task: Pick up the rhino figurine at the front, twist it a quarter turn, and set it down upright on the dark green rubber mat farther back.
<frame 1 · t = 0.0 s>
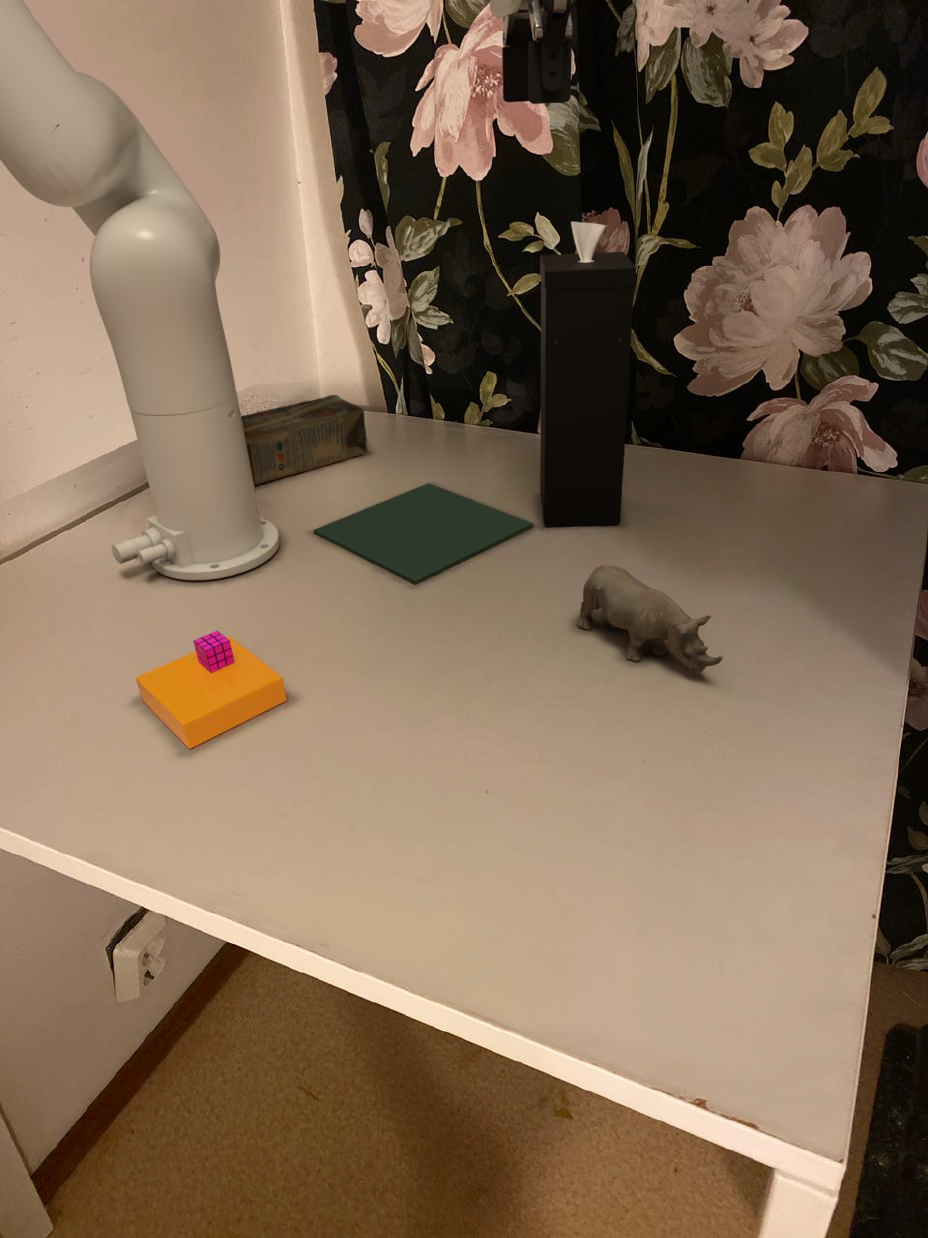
hand: (534, 101, 71), 37 cm above the table, tool pointing down, fingers open, 9 cm apart
mat: (422, 530, 89), on the table
rhino figurine: (645, 655, 68), on the table
orange block: (214, 703, 66), on the table
tissue box: (578, 512, 91), on the table
beverage carton: (288, 466, 106), on the table
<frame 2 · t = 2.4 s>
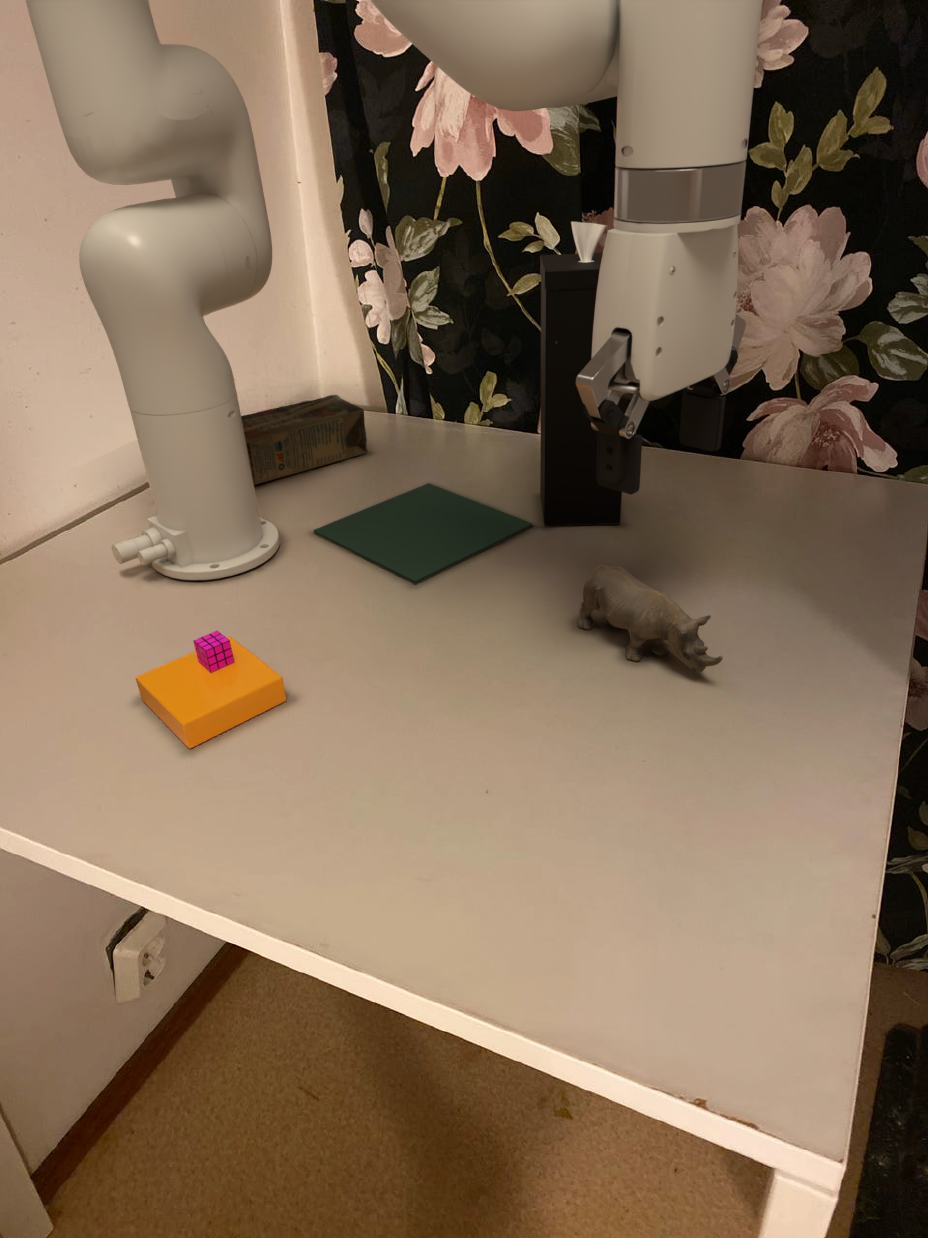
hand: (660, 466, 61), 15 cm above the table, tool pointing down, fingers open, 9 cm apart
nothing on the table moved.
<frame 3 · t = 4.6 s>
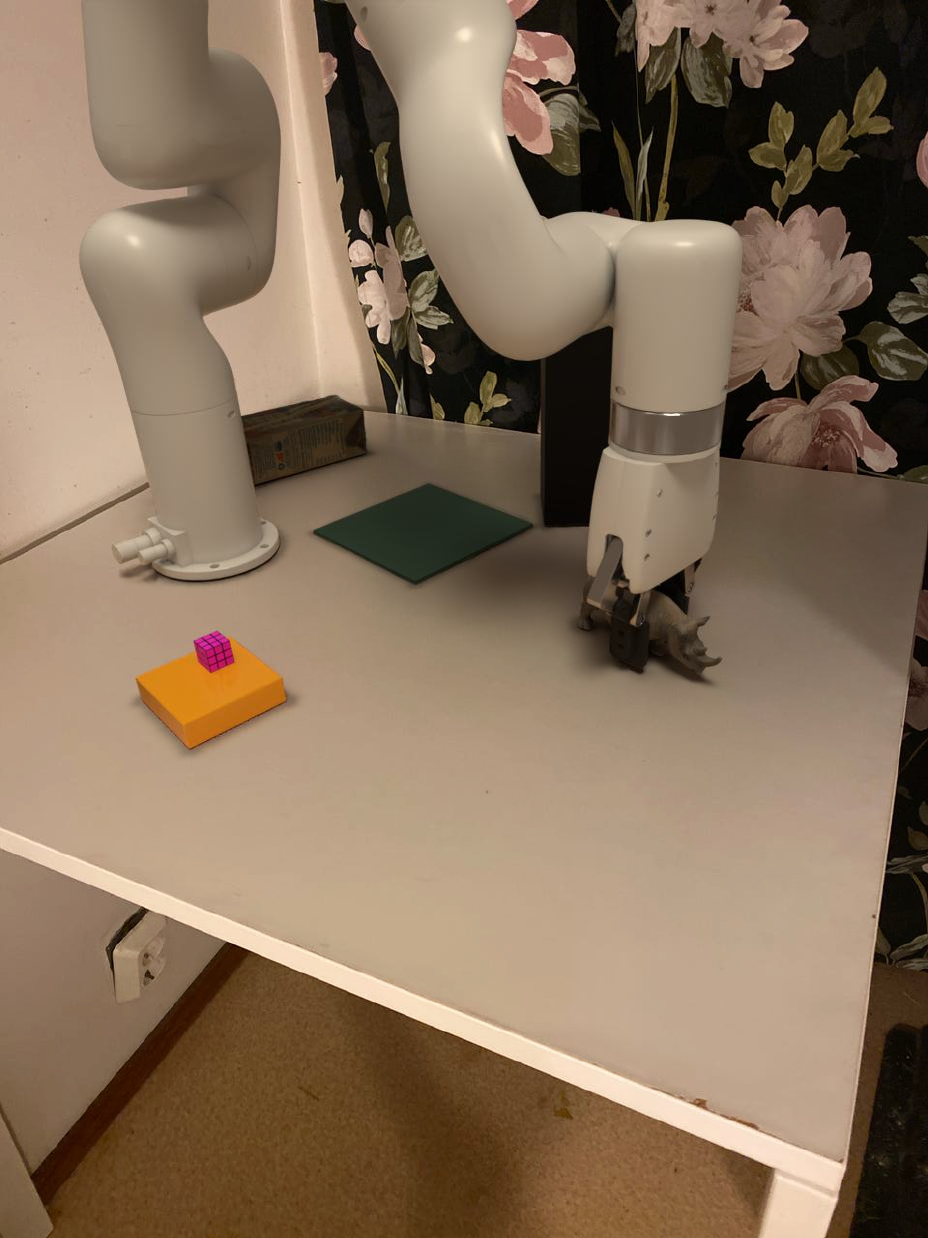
hand: (647, 645, 68), 1 cm above the table, tool pointing down, fingers closed on rhino figurine, 4 cm apart
rhino figurine: (645, 656, 68), on the table, touching gripper
everything else where it was.
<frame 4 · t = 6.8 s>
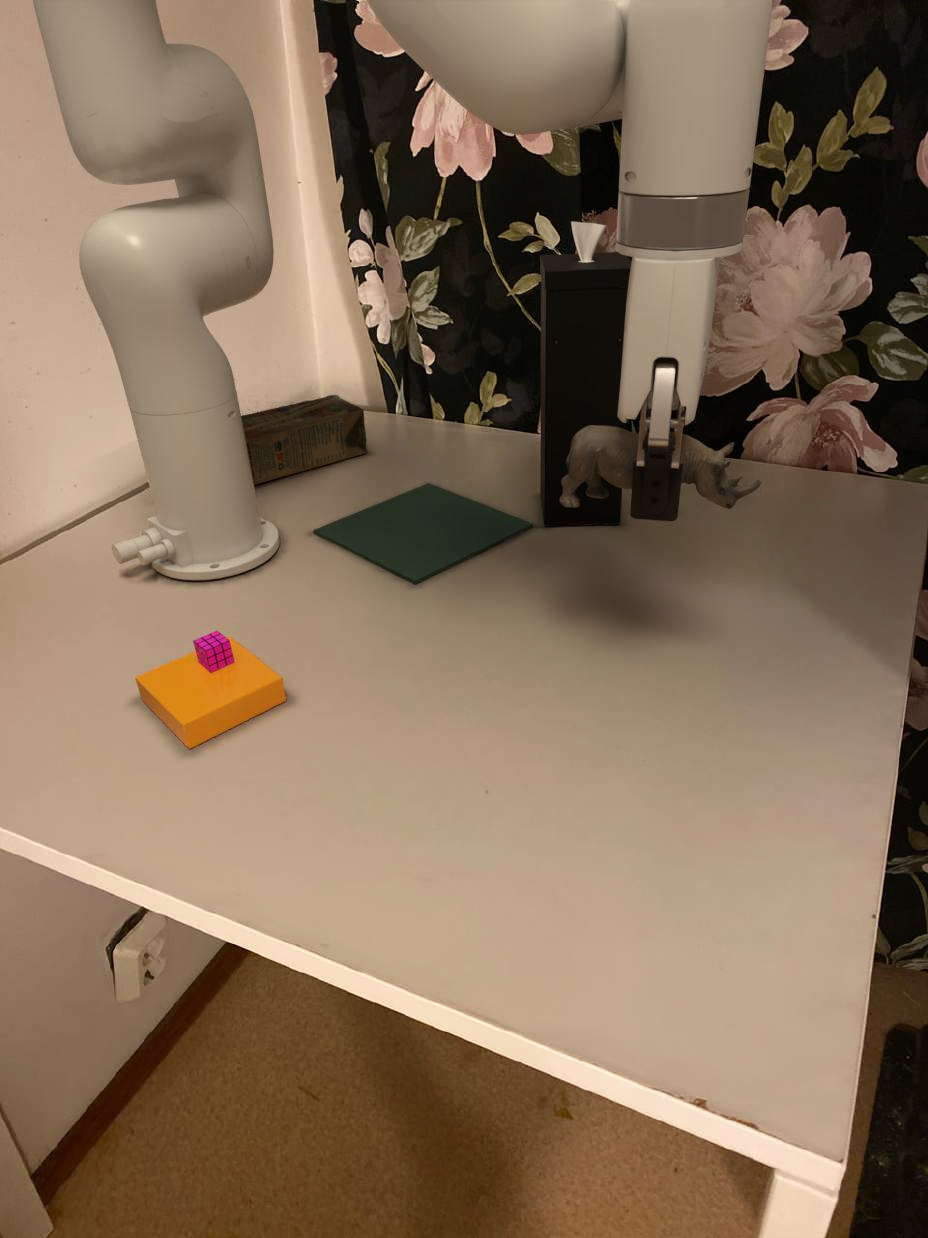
hand: (655, 500, 61), 13 cm above the table, tool pointing down, fingers closed on rhino figurine, 4 cm apart
rhino figurine: (654, 513, 62), point 12 cm above the table, touching gripper
everything else where it was.
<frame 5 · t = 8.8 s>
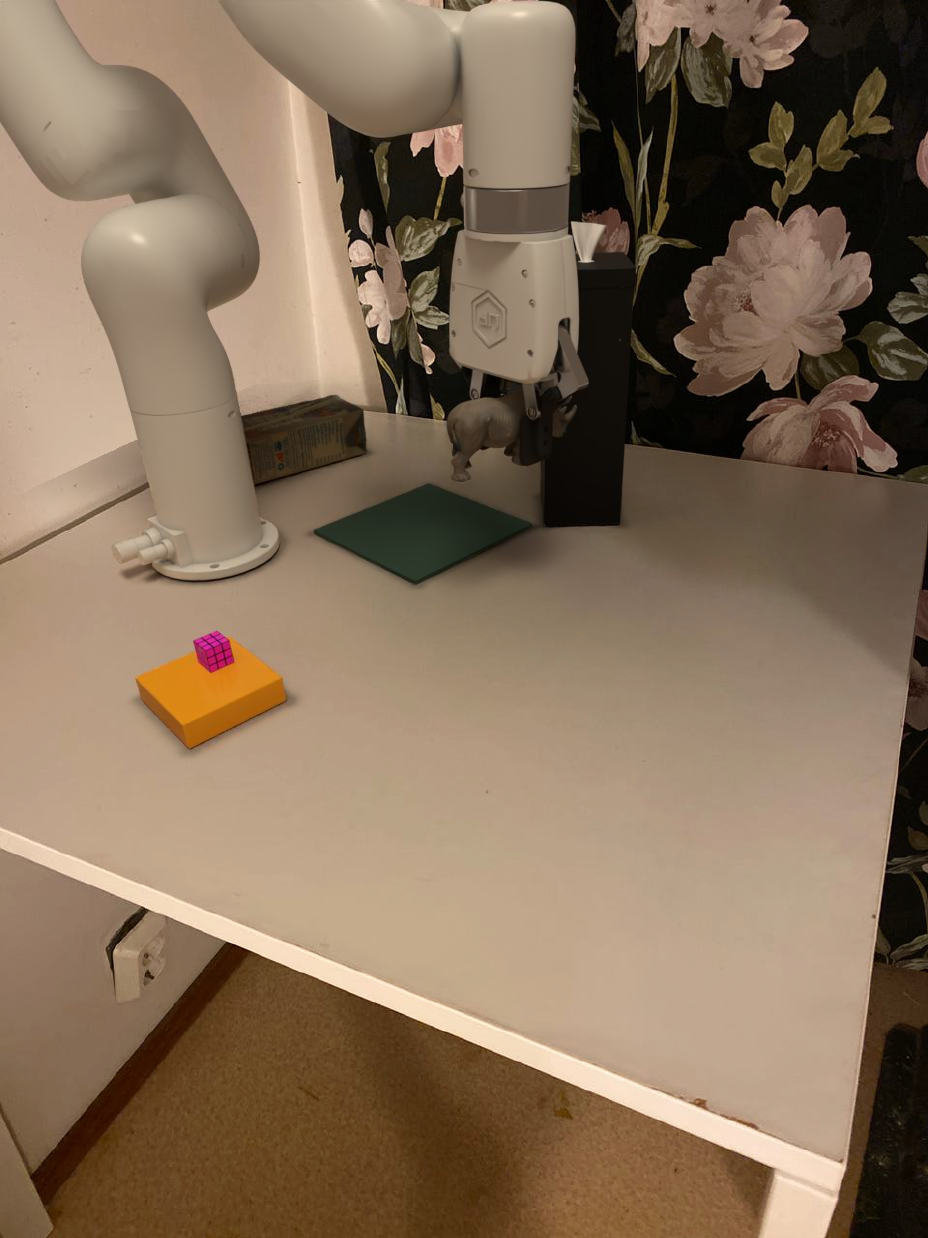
hand: (513, 450, 72), 13 cm above the table, tool pointing down, fingers closed on rhino figurine, 4 cm apart
rhino figurine: (514, 462, 72), point 12 cm above the table, touching gripper
everything else where it was.
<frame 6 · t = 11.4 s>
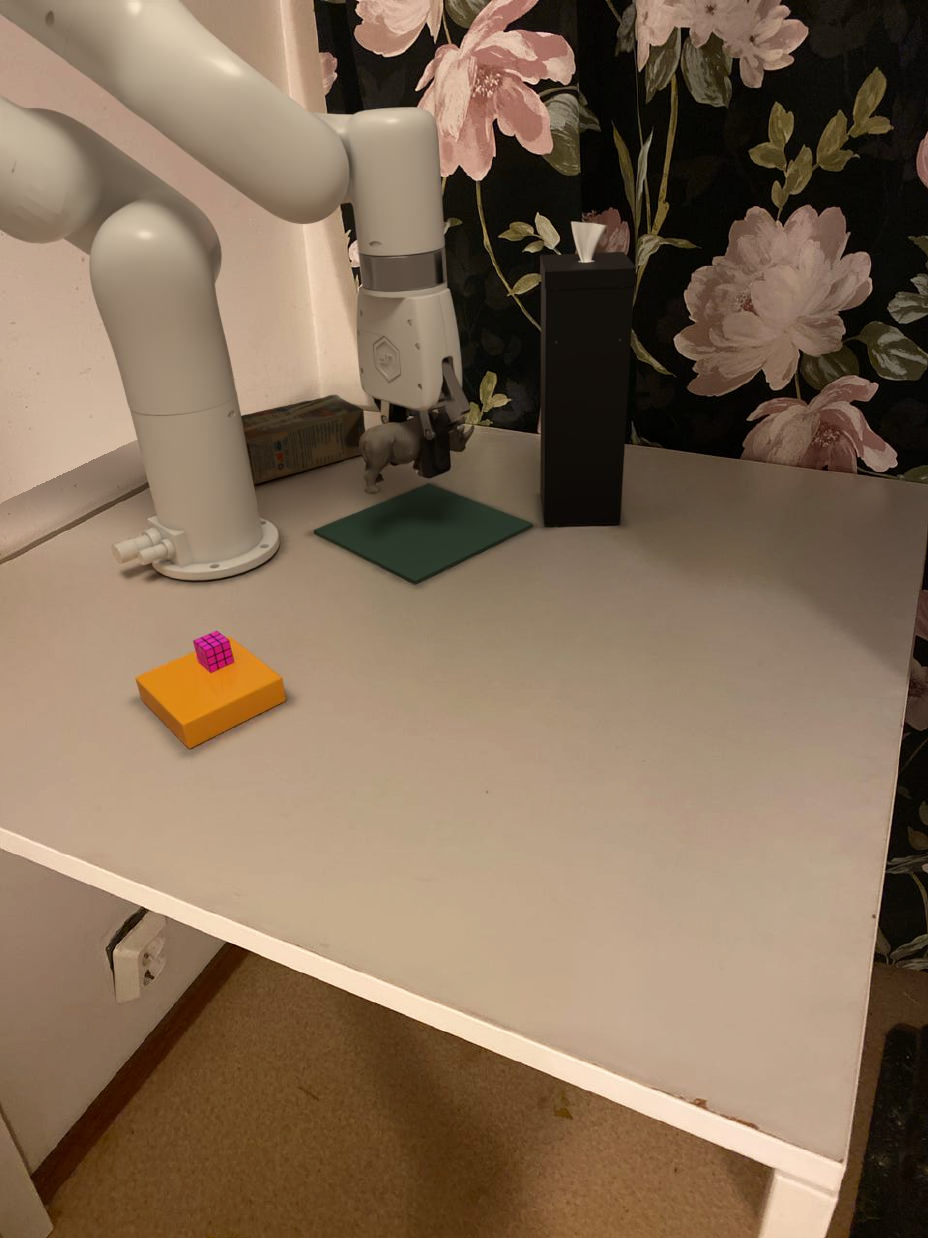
hand: (420, 465, 85), 7 cm above the table, tool pointing down, fingers closed on rhino figurine, 4 cm apart
rhino figurine: (421, 474, 86), point 6 cm above the table, touching gripper
everything else where it was.
when the fingers open (1 cm above the table, at t = 13.2 s): rhino figurine stays where it is, resting on mat.
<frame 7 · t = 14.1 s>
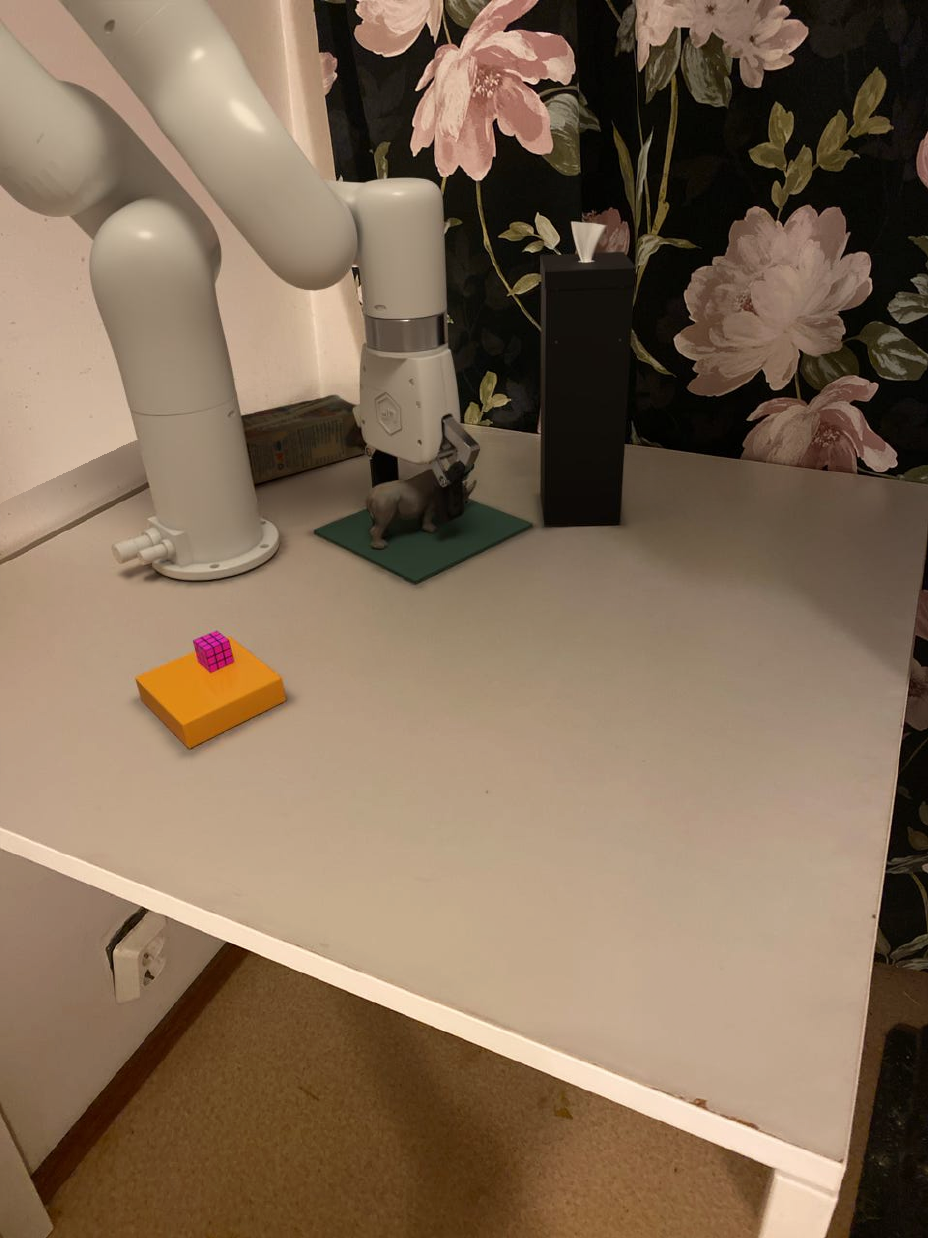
hand: (417, 505, 87), 3 cm above the table, tool pointing down, fingers open, 9 cm apart
rhino figurine: (425, 528, 89), resting on mat
everything else where it was.
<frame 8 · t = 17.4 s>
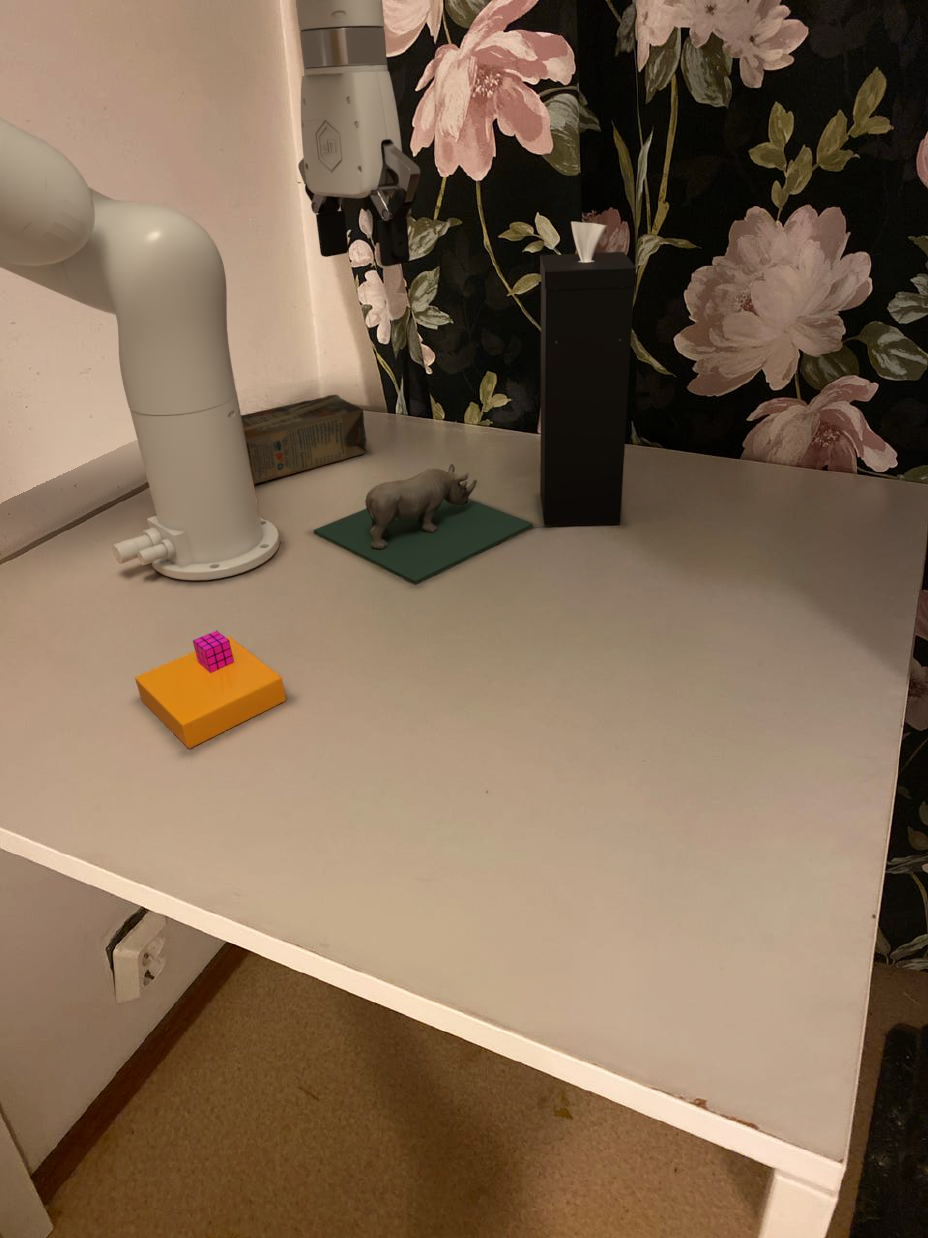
hand: (364, 259, 86), 24 cm above the table, tool pointing down, fingers open, 9 cm apart
nothing on the table moved.
at the end: rhino figurine inside the target area on the mat (0.3 cm from its centre), point 0.2 cm above the mat's base; rhino figurine tilted 0°; the gripper is holding nothing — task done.
